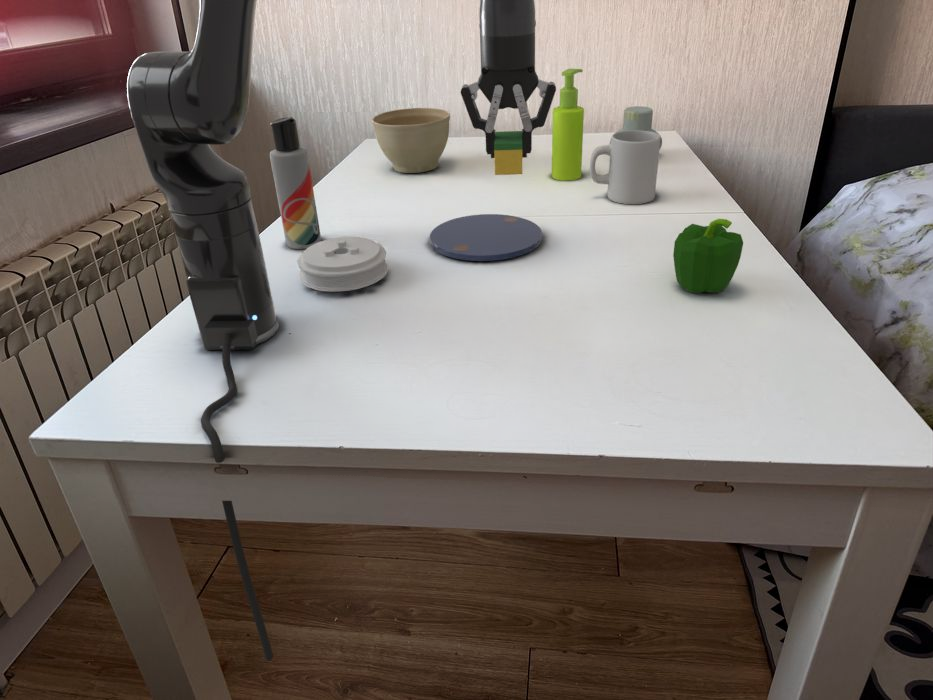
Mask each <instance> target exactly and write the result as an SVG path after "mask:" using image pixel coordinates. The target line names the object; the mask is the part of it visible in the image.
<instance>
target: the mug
mask: <svg viewBox="0 0 933 700" xmlns="http://www.w3.org/2000/svg"><path fill="white" fill-rule="evenodd" d="M616 132H617V131H616ZM616 132H614V133H613V134H611V138H610V140H611V144H610V143H609V144H604V145H600V146H597V147H596V148H594V149H593V151H592V153H591V155H590V159H589V160H590V161H589V174H590V178H591V179H592V181H593V182H594V183H596V184H600V185H607V199H609V201H612V202H614V203H618V204H624V205H643V204H647V203H650V202H652V201H653V200H654V199H655V198H656V191H657V178H658V169H659V158H660V157H659V156H660V150H659V148H660V136H661V134H659V133H658V134H659V135H658V134H656V133H654V132H649V131H639V130H632V131H622V132H617V133H616ZM660 149H661V148H660ZM601 155H606V156H608V157H609V165H608V173H606V174H601V175H600V174H598V173H597V170H596V162H597V159H598V157H599V156H601Z"/></svg>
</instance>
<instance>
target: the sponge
mask: <svg viewBox="0 0 933 700" xmlns="http://www.w3.org/2000/svg"><path fill="white" fill-rule="evenodd" d="M495 135H496V136H495V141H494V158H493V159H494V176H506V175H507V176H511V175H523V158H522V130H507V131H505V130H504V131H495Z"/></svg>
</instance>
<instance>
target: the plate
mask: <svg viewBox="0 0 933 700" xmlns="http://www.w3.org/2000/svg"><path fill="white" fill-rule="evenodd" d="M542 241H543V231H542V229H541V227H540V226H539V225H538V224H537V223H535V222H533V221H532V220H529V219H526V218H524V217H519V216H515V215H510V214H509V215H508V214H499V213H498V214H497V213H483V214H481V213H480V214H471V215H466V216H461V217H456V218H453V219H449V220H447V221H445V222H442V223H440V224H438V225H437V226H435V227H434V228H433V229H432V230H431V232H430V234H429V243H430V246H431V248H432V249H433V250H434V251H436V252H437V253H439V254H440V255H443V256H446V257H448V258H452V259H456V260H460V261H461V260H463V261H471V262H472V261H473V262H492V261H502V260H508V259H512V258H517V257H519V256H522V255H523V256H524V255H526V254H529V253H530V252H532V251H534V250H535V249H536V248H538V247H539V245H541V243H542Z"/></svg>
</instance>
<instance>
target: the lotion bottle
mask: <svg viewBox="0 0 933 700" xmlns="http://www.w3.org/2000/svg"><path fill="white" fill-rule="evenodd" d="M269 125H270V130H271V135H272V136H271V137H272V141H273V146H274V147H273V148H274V149H273V150H271V151H269V158H270V165H271V170H272V176H273V182H274V186H275V191H276V197H277V202H278V207H279V208H278V209H279V213H280V218H281V223H282V229H283V234H284V239H285V243H286V246H287V247H288V248H289V249H294V250H306V249H307V248H308V247H310V246H312V245H313V244H316V243H318V242H321V241H322V237H321V229H320V222H319V216H318V211H317V210H318V209H317V204H316V198H315V191H314V186H313V180H312V172H311V166H310V162H309V154H308V150H307V148H306V147H304V146H301V145H300V144H301V143H300V138H299V131H298V126H297V120H296V119H295V118H293V116H289V117H287V116H286V117H281V118H278V119H276V120H274V121H272V122H270V124H269Z"/></svg>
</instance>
